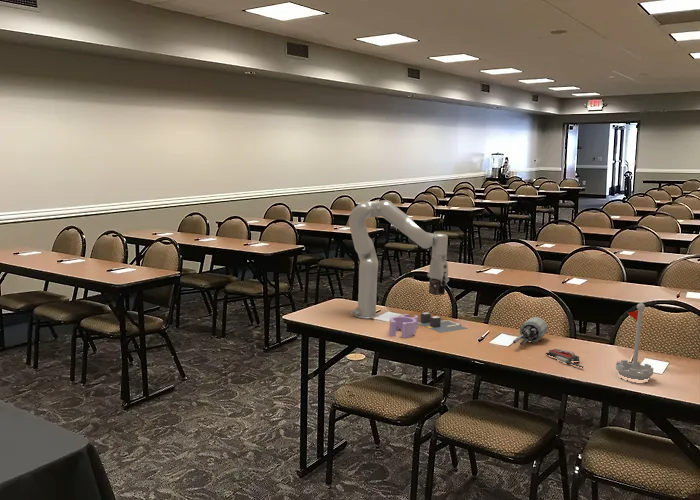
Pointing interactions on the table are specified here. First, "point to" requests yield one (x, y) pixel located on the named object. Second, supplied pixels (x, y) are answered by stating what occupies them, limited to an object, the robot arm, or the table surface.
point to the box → (435, 287)
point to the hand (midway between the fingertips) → (436, 291)
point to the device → (532, 330)
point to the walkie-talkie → (564, 356)
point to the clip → (403, 325)
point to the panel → (444, 326)
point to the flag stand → (635, 353)
